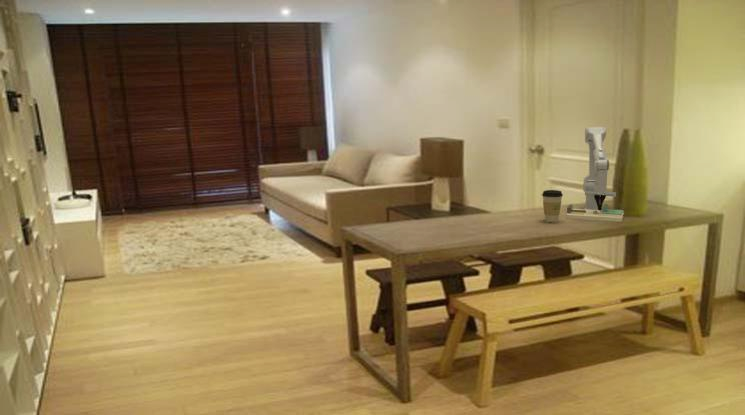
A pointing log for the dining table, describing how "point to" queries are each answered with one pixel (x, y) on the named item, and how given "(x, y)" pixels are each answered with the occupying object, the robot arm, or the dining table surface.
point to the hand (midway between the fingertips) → (599, 210)
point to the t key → (570, 209)
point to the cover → (611, 211)
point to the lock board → (594, 215)
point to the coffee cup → (552, 205)
